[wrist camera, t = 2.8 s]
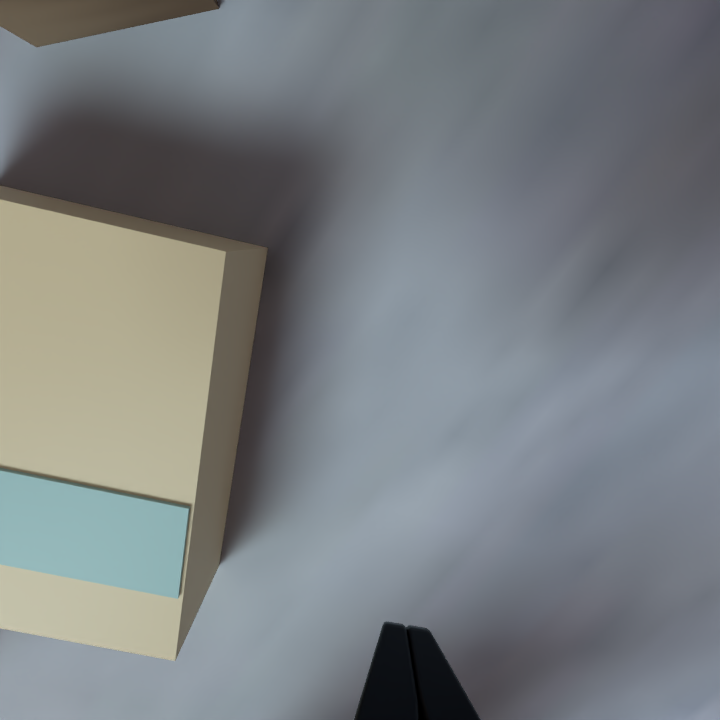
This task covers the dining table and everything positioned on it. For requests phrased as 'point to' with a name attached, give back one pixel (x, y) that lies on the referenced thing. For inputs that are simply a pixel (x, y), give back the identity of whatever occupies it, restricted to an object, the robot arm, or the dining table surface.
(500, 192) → the dining table surface
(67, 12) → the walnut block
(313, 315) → the dining table surface
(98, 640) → the carton
